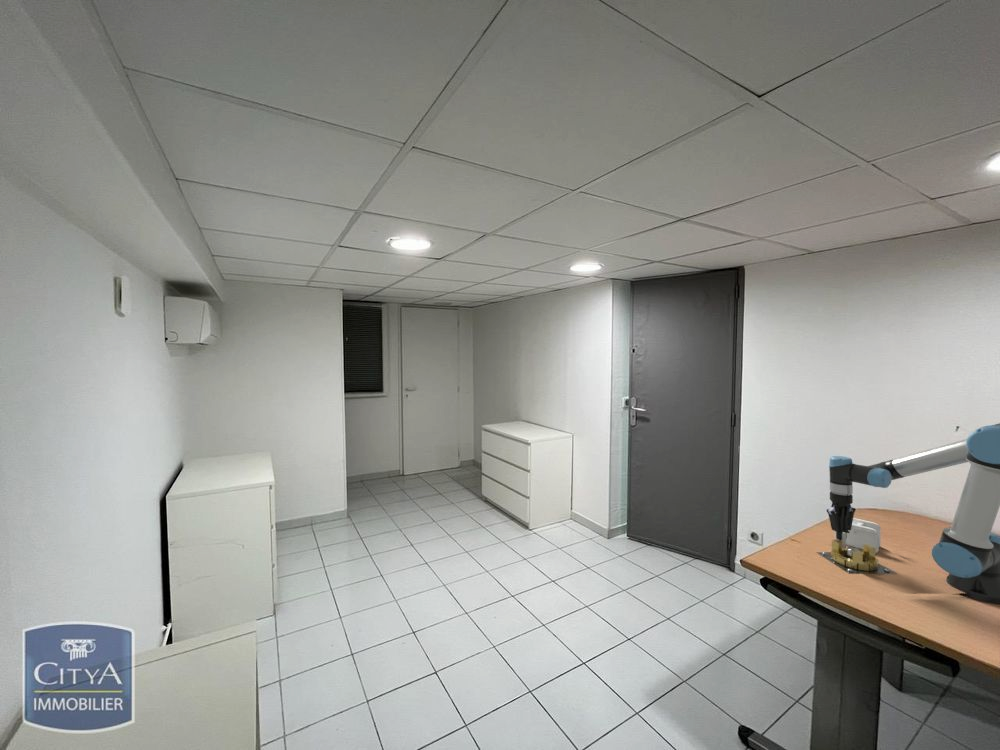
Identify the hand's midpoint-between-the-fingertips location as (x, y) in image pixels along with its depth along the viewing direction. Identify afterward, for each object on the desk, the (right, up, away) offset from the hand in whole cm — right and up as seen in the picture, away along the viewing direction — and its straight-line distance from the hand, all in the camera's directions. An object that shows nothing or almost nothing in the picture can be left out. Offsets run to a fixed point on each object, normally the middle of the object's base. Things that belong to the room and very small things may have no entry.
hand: (841, 546), depth 173 cm
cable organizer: (+16, -5, +10) cm, 20 cm away
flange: (0, -6, -6) cm, 8 cm away
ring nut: (0, -4, -6) cm, 7 cm away
